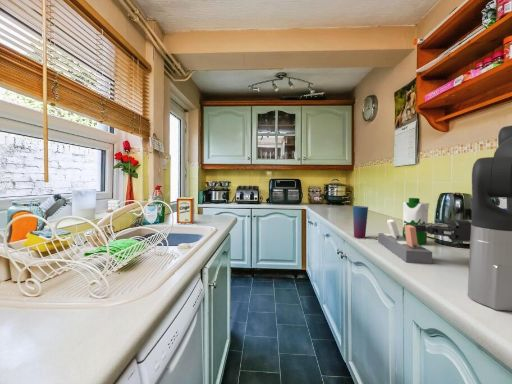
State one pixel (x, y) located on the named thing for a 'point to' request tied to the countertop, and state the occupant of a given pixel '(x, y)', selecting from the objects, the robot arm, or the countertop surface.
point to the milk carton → (415, 217)
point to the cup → (360, 221)
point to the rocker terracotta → (411, 236)
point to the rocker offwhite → (393, 228)
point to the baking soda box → (185, 210)
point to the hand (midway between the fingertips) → (412, 228)
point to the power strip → (405, 249)
